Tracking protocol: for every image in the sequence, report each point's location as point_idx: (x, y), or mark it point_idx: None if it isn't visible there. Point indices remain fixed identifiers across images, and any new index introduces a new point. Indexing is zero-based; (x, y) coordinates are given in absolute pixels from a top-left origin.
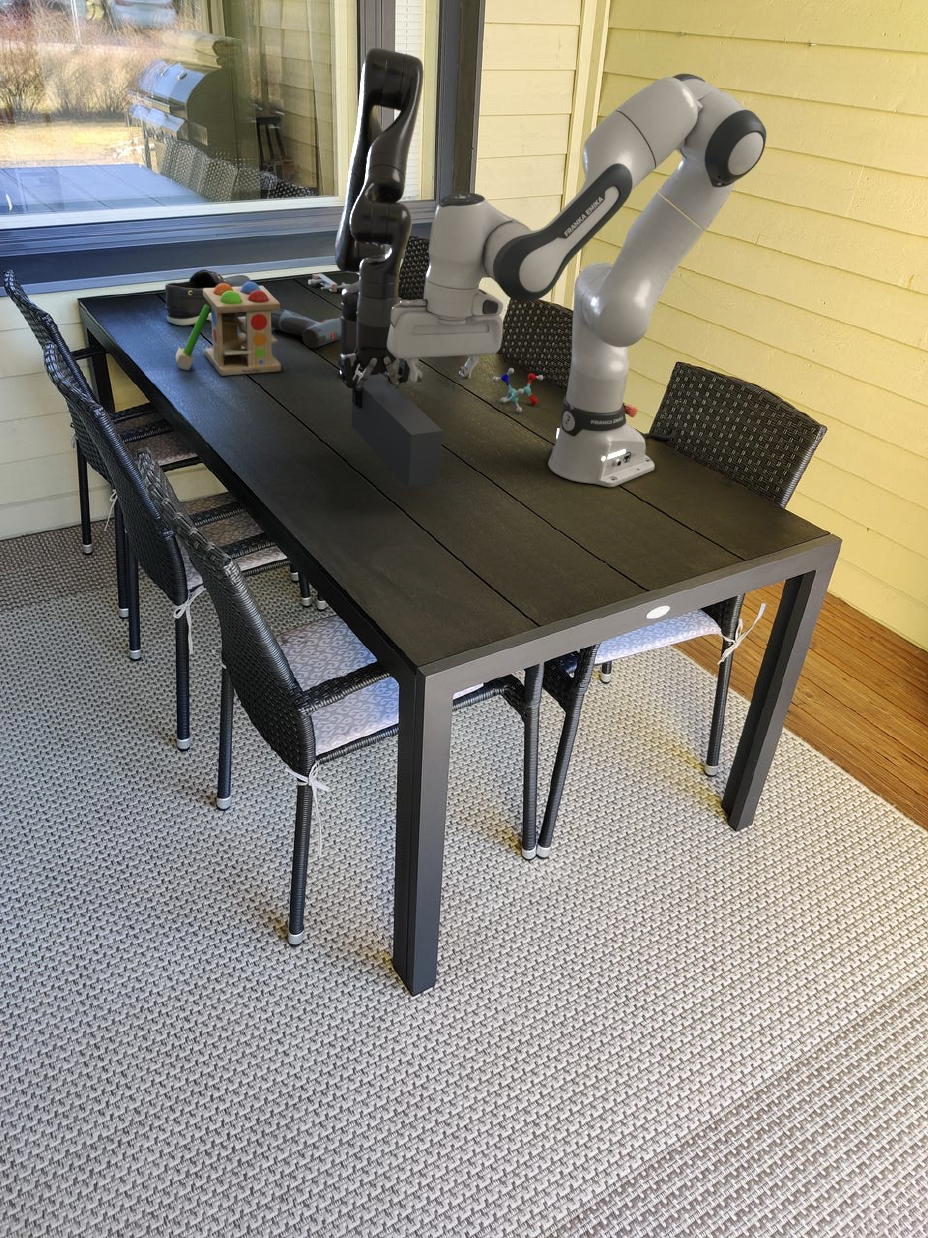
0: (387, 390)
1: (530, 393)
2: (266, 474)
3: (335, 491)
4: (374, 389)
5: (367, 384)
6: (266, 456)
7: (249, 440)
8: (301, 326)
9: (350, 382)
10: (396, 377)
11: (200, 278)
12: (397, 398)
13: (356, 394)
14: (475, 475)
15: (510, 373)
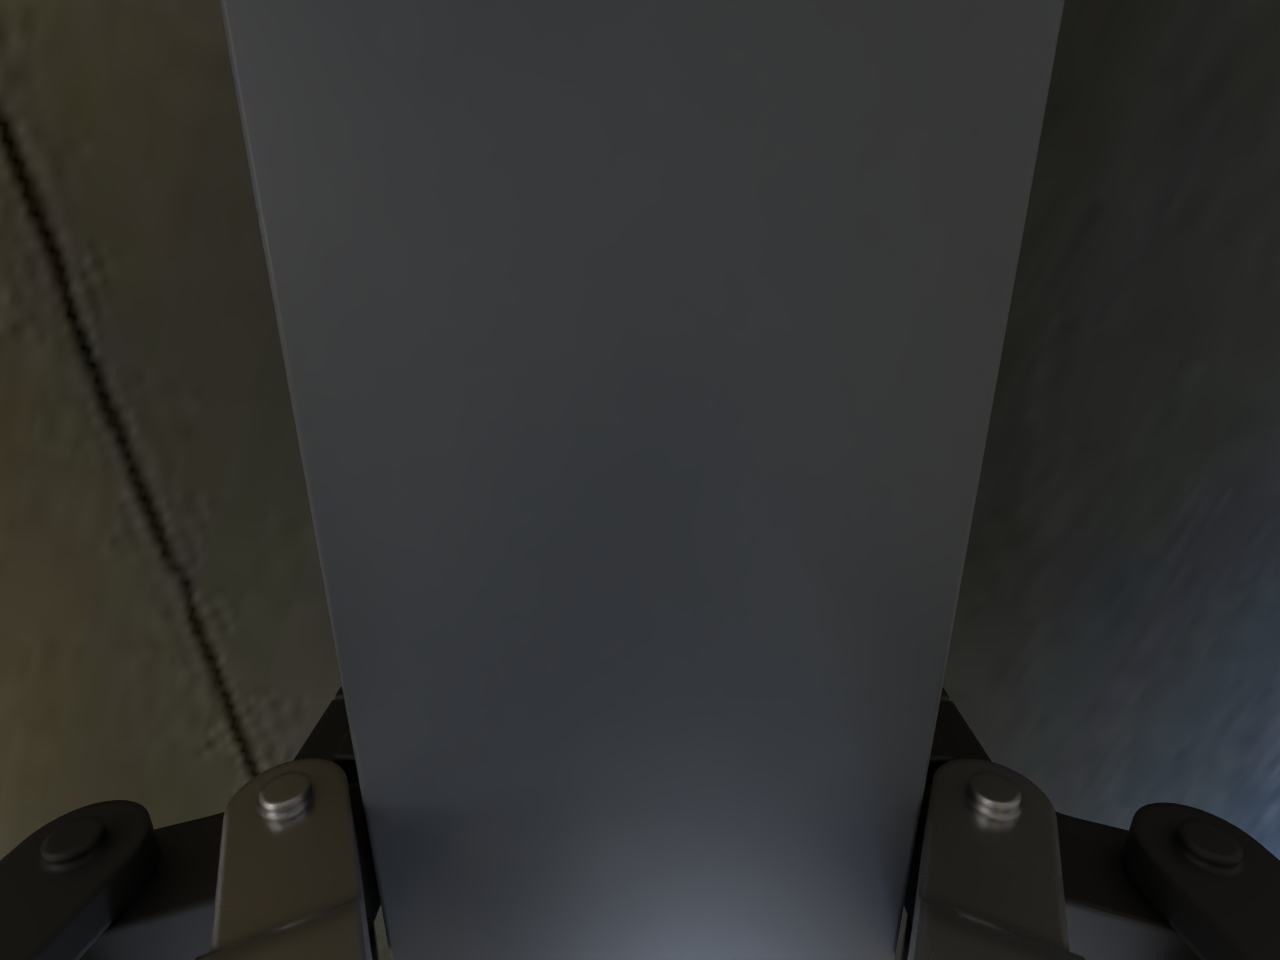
0: (556, 568)
1: None
2: (1275, 468)
3: (1044, 121)
4: (781, 667)
5: (795, 865)
6: (1147, 657)
7: (1121, 821)
8: None
9: (1248, 895)
10: (225, 902)
11: None
12: (494, 80)
13: (953, 736)
14: (20, 45)
15: None
